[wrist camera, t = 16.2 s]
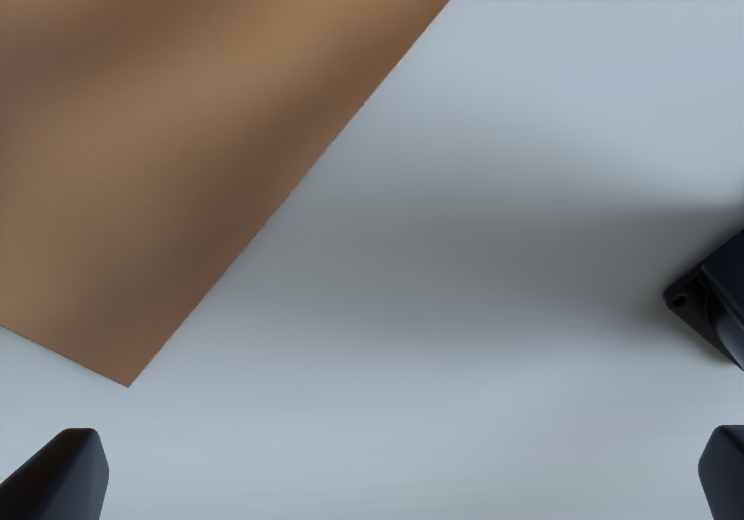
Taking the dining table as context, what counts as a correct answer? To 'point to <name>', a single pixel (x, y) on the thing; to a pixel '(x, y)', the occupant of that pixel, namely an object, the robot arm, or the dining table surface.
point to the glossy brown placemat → (163, 150)
